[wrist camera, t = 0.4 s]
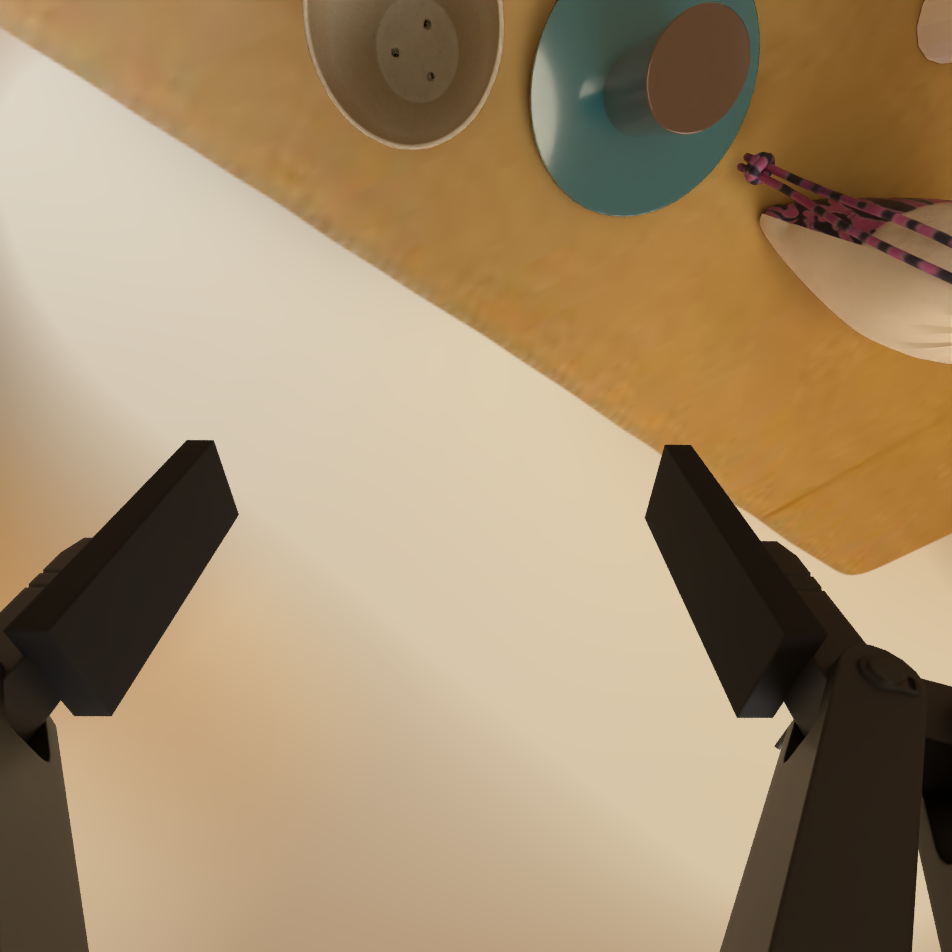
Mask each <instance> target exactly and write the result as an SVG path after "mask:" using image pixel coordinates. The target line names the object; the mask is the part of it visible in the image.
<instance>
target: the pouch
mask: <svg viewBox="0 0 952 952" xmlns="http://www.w3.org/2000/svg"><path fill="white" fill-rule="evenodd" d="M743 158H744V160H745V161H747V162H748V164H747V165H745V164H743V163H739V164H738V165H737V169H738V170H739V171H741V172H743V173H745V178H746V181H747V182H748V183H751V184H753V185H758V184H762V183H765V184H767V185H769V186H771V187H773V188H774V189H776V190H778V191H780V192H782V193H784V194H785V195H787V196H789V197H790V198H792V199H793V200H795V201H797V202H795V203H790V204H785V205H775V206H772V207H769V208H767V209H766V210H765V211H764V212H763V213H762V215H761V218H760V221H759V222H760V226H761V229H762V231H763V233H764V234H765V236H766V237H767V239H768V241H769V242H770V243H771V245H772V246H773V248H774V249H775V250H776V252H777V253H778V254H779V255H780V257H781V258H782V259H783V260H784V262H785V263H786V264H787V265H788V266H789V267H790V268H791V270H792V271H793V272H794V273H795V274H796V275H797V276H798V277H799V278H800V280H801V281H802V282H803V283H804V284H805V285H806V286H807V287H808V288H809V289H810V290H811V291H812V292H813V293H814V294H815V295H816V296H817V297H818V298H819V299H820V300H821V301H822V302H823V303H824V304H825V305H826V306H827V307H828V308H829V309H830V310H831V311H832V312H833V313H835V314H836V315H837V316H838V317H839V318H840V319H841V320H843V321H844V322H845V323H846V324H848V325H849V326H850V327H852V328H853V329H854V330H856V331H857V332H859V333H860V334H862V335H864V336H865V337H867V338H869V339H871V340H873V341H875V342H877V343H879V344H881V345H884V346H886V347H889V348H891V349H894V350H897V351H899V352H902V353H904V354H907V355H910V356H913V357H916V358H919V359H925V360H931V361H935V362H940V363H947V364H952V201H950V200H939V199H923V198H853V197H850V196H847V195H845V194H842V193H839V192H837V191H834V190H831V189H828V188H826V187H823V186H821V185H818V184H816V183H813V182H811V181H808V180H806V179H803V178H801V177H799V176H797V175H794V174H792V173H790V172H788V171H786V170H783V169H781V168H779V167H777V166H775V159H774V155H772V154H771V153H767V152H761V153H758V154H756V155H752V154H749V153H746V154H745V155H744V157H743ZM772 174H774V175H776V176H778V177H780V178H782V179H785V180H787V181H789V182H791V183H793V184H795V185H798V186H800V187H802V188H805V189H807V190H810V191H812V192H814V193H817V194H819V195H821V196H824V197H827V198H829V199H820V200H813V201H812V200H810V199H808V198H807V197H805V196H804V195H802V194H800V193H799V192H797V191H795V190H794V189H792V188H790V187H789V186H787V185H785V184H783V183H781V182H779V181H777V180H775V179H773V178H772V177H770V176H771V175H772Z"/></svg>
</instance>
